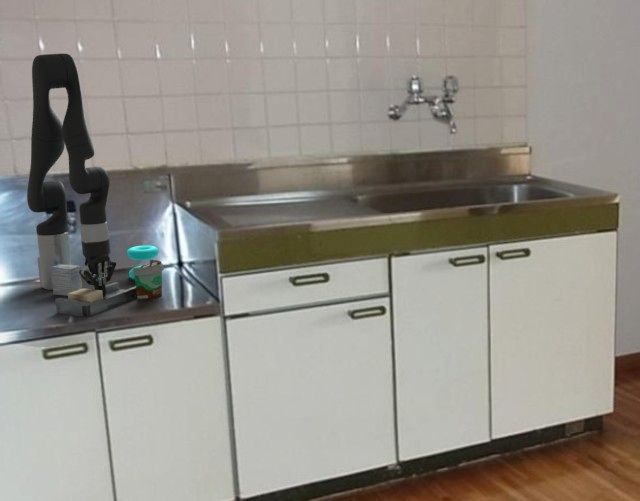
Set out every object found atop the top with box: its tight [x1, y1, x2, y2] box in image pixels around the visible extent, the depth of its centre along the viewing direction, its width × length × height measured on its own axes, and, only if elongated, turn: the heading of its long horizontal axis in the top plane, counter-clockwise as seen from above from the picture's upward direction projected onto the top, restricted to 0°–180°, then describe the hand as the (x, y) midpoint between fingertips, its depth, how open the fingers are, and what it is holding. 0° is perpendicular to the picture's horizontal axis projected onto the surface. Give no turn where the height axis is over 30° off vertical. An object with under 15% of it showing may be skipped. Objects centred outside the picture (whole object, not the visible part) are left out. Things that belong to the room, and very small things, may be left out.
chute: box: [55, 281, 138, 318], centre depth 212 cm, size 11×24×4 cm, turn 154°
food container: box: [133, 259, 165, 302], centre depth 217 cm, size 12×6×10 cm, turn 168°
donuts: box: [126, 244, 159, 281], centre depth 241 cm, size 10×10×10 cm
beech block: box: [67, 287, 103, 303], centre depth 206 cm, size 7×6×4 cm
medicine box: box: [51, 264, 83, 297], centre depth 223 cm, size 8×4×9 cm, turn 65°
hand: (100, 297), depth 212 cm, fingers closed
